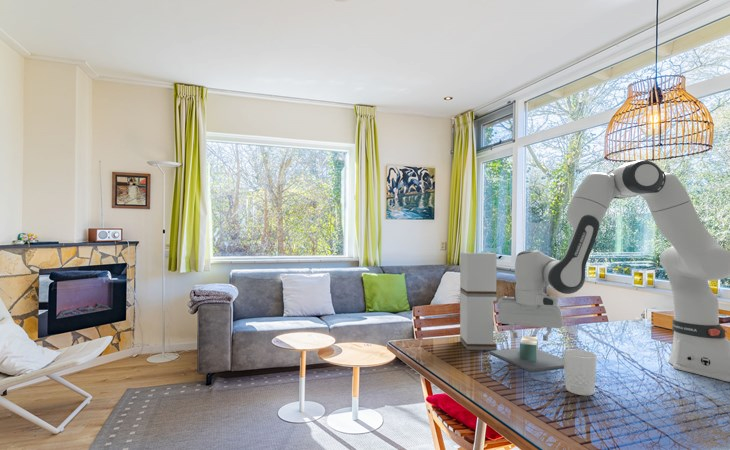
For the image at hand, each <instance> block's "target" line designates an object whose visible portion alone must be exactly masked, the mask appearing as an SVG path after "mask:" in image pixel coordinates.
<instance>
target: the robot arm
mask: <svg viewBox="0 0 730 450" xmlns="http://www.w3.org/2000/svg"><path fill="white" fill-rule="evenodd" d="M638 196H640V197H641V198H642V199H643V200H644V201H645V202H646V203H647V206H648V209H649V211H650V213H651V216H652V219H653V221H654V222H655V225H656V228H657V229H658V231H659V233H660V235H661V236H662V237H663V238H665V239H666V240H667V241H668V243H670V244H671V246H669V247H667V248H665V249H664V250H663V251H662V252H661V254H660V255H659V256H660V257H659V262H660V265H661V267H662V268H663V270H664V271H665V273H666V275H667V278H668V281H669V284H670V287H671V292H672V296H673V298H672V299H673V319H672V326H671V327H672V329H671V330H672V335H673V339H672V345H671V351H670V352H671V353H670V355H669V357H668V358H669V359H668V363H669V364H670V365H672V366H673V368H674V370H675V369H676V370H680V371H683V372H687V373H692V374H696V375H700V376H704V377H708V378H710V379H711V378H712V379H715V380H720V381H724V382H728V383H730V340H729V339H728V338H727V336H726V333H730V331H729V330H730V328H723V327H722V325H721V324H720V322H719V321H720V319H719V315H720V314H719V300H718V299H719V298H717V295H715V293H714V292H713V291H712V289H711V287H710V284H709V281H710V282H711V281H719V280H724V279H727V278H729V277H730V251H729V250H728V249H726V248H724V246H722V245H720V243H719V242H718V241H716V239H715V238H714V236H712V234H711V233H710V232H709V231H708V229H707V228H706V227H705V225H704V224H703V222H702V220H701V219H700V216H699V215H698V213H697V211H696V208H695V207H694V203H693V201H692V200H691V197H690V196H689V193H688V192H687V190H686V188H685V187H684V185H683V183H682V182H681V180H680V179H679V178H678V177H677V176H676V175H675V174H673V173H669V172H664V171H663V170H662V169H661V167H660V166H659V165H657V164H656V163H654V162H653V161H650V160H645V159H640V160H638V159H637V160H634V161H632V162H628V163H624V164H622V165H620V166H619V167H616V168H614V169H612V170H610V171H608V172H607V173H604V172H599V171H597V172H591V173H589V174H588V175H586V176H585V178H583V180H582V181H581V183H580V184H579V185H578V187H577V189H576V190H575V192H574V194H573V196H572V198H571V200H570V203H569V205H568V207H567V211H566V219H567V222H568V223H569V225H571V227H572V237H571V240H570V241H569V244H568V247H567V248H566V251H565V254H564V256H563V257H562V258H561V259H556V258H554V257H551V256H549V255H546V254H545V253H543V252H542V251H541V250H539V249H530V250H529V249H528V250H523V251H519V253H517V255H515V263H514V277H515V283H516V284H515V286H514V289H515V290H514V291H515V295H514V296H501V297H499V298H498V299H497V301H496V302H497V303H496V304H497V305H496V306H497V309H498V322H499V323H500V324H504V325H508V327H509V329H510V331H511V333H512V338H513V339H514V338H515V339H518V338H519V333H518V331H515V328H514V327H515V326H525V327H537V328H538V327H539V328H546V333H544V334H542V340H543V341H545V342H548V341H549V335H550V334H551V332H552V329H562V327H564V322H563V321H564V320H563V315H562V309H561V307H560V306H559V305H558V304H559V299H558V298H557V296H553V295H550V294H547V293H545V292H544V287H549V288H551V289H554V290H556V291H557V292H559V293H561V294H565V295H569V294H571V295H572V294H574V293H577V292H579V290H581V289H582V287H584V284H585V281H586V266H587V262H588V260H589V258H590V254H591V253H592V250H593V247H594V245H595V242H596V239H597V236H598V235H599V234H598V233H599V229H600V227H601V224H602V221H603V219H604V217H605V215H606V214H607V211H608V209H609V207H610V204H611V203H612V201H613V199H620V200H621V199H627V198H628V199H629V198H633V197H638Z"/></svg>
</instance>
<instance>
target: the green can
mask: <svg viewBox="0 0 730 450" xmlns="http://www.w3.org/2000/svg"><path fill="white" fill-rule="evenodd" d="M519 348H520V359H524V360H531V361H537V354H538V350H539V337H537V336H530V335H522V337H521V339H520V341H519Z"/></svg>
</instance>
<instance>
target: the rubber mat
mask: <svg viewBox="0 0 730 450" xmlns="http://www.w3.org/2000/svg"><path fill="white" fill-rule="evenodd" d="M489 354H491V355H493V356H495V357H497V358H499V359H501V360H504V361H506V362H508V363H510V364H512V365H515V366H517V367H519V368H521V369H523V370H525V371H527V372H529V373H533V372H541V371H549V370H557V369H564V358H562V357H559V356H557V355H554V354H552V353H548V352H546V351H544V350H541V349H538V354H537V361H531V360H524V359H520V347H517V348H516V347H515V348H507V349H497V350H489Z"/></svg>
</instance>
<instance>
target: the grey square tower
mask: <svg viewBox="0 0 730 450" xmlns="http://www.w3.org/2000/svg"><path fill="white" fill-rule="evenodd" d="M459 254H460V255H459V257H460V260H459V261H460V264H459V267H460V269H459V277H460V278H459V280H460V284H459V288H460V289H459V291H460V292H459V293H460V294H459V295H460V296H459V301H460V302H459V304H460V305H459V313H460V314H459V321H460V322H459V329H460V330H459V333H460V334H459V336H460V337H459V340H460V341H461V342H462V343H461V342H460V343H461V344H462V345H463V346H464V347H466V348H465V349H466V350H471V351H474V350H475V351H477V350H478V351H479V350H481V351H482V350H483V351H496V350H498V349H497V348H498V347H497V345H498V344H497V343H496V342H495V341H494V302H497V301H498V299H497V298H498V297H497V253H494V252H489V251H488V252H487V251H485V252H479V253H474V252H464V251H460V252H459Z"/></svg>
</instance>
